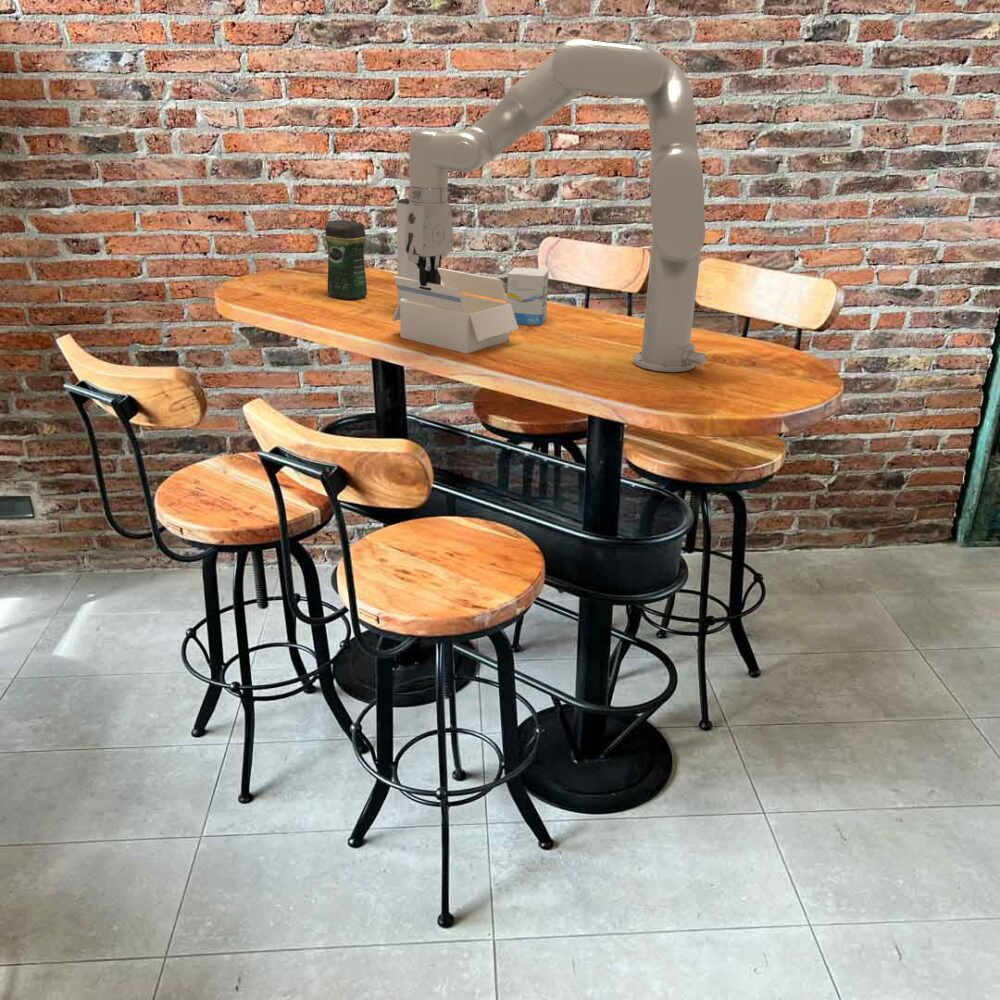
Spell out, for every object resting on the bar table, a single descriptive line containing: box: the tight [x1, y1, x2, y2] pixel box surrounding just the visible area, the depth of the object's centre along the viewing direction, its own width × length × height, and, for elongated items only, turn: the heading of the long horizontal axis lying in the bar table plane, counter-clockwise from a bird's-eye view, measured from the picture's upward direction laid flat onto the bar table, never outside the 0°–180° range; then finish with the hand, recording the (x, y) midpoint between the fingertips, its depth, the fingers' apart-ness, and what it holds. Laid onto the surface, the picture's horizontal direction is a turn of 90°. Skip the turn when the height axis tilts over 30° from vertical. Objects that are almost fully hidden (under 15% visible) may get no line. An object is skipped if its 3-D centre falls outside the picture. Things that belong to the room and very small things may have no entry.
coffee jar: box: [325, 219, 368, 300], centre depth 242 cm, size 10×8×19 cm
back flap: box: [438, 267, 508, 302], centre depth 211 cm, size 17×1×6 cm, turn 53°
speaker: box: [396, 198, 442, 304], centre depth 228 cm, size 11×10×26 cm
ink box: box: [505, 266, 550, 327], centre depth 227 cm, size 8×8×12 cm
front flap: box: [393, 275, 466, 312], centre depth 201 cm, size 17×1×6 cm, turn 53°
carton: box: [392, 293, 519, 355], centre depth 210 cm, size 24×14×8 cm, turn 53°
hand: (427, 288), depth 200 cm, fingers closed
